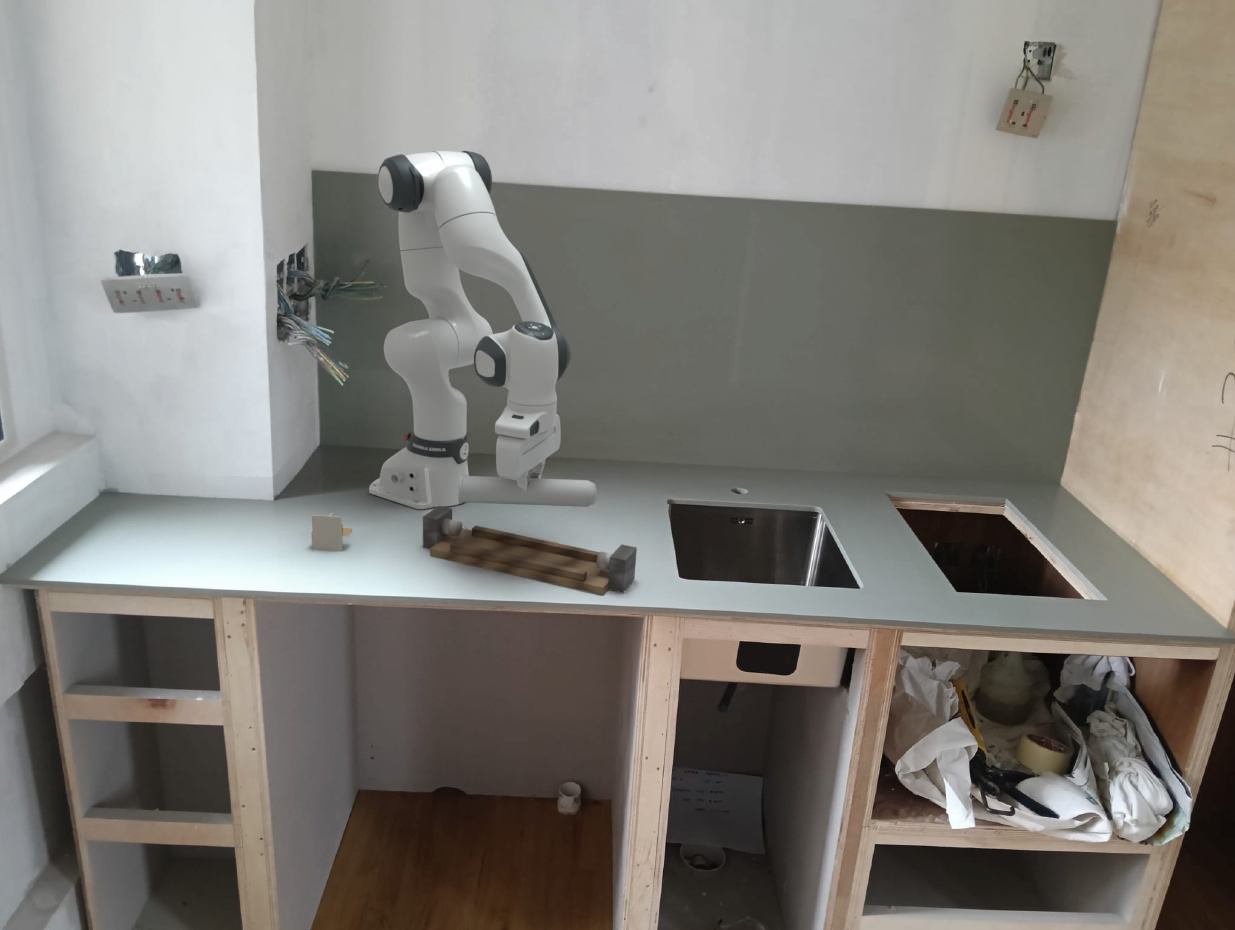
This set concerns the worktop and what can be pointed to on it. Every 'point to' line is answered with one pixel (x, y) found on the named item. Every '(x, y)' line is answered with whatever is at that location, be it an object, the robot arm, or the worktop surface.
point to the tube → (536, 494)
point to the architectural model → (328, 532)
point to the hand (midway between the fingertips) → (529, 486)
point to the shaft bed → (528, 555)
